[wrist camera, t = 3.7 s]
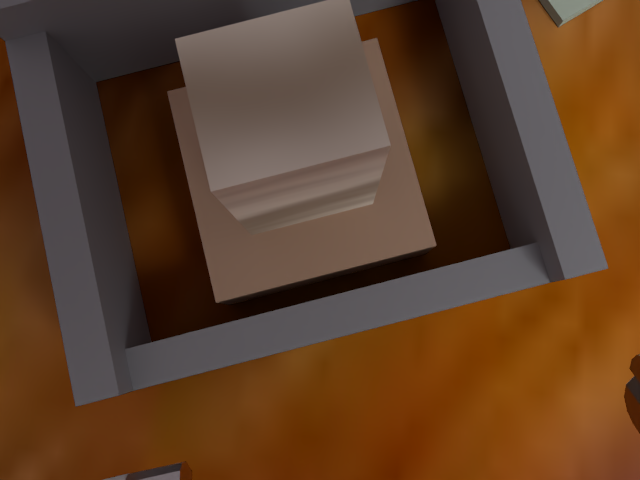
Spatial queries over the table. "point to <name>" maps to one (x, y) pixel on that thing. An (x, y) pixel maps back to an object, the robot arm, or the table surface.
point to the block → (286, 115)
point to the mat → (566, 9)
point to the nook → (290, 241)
